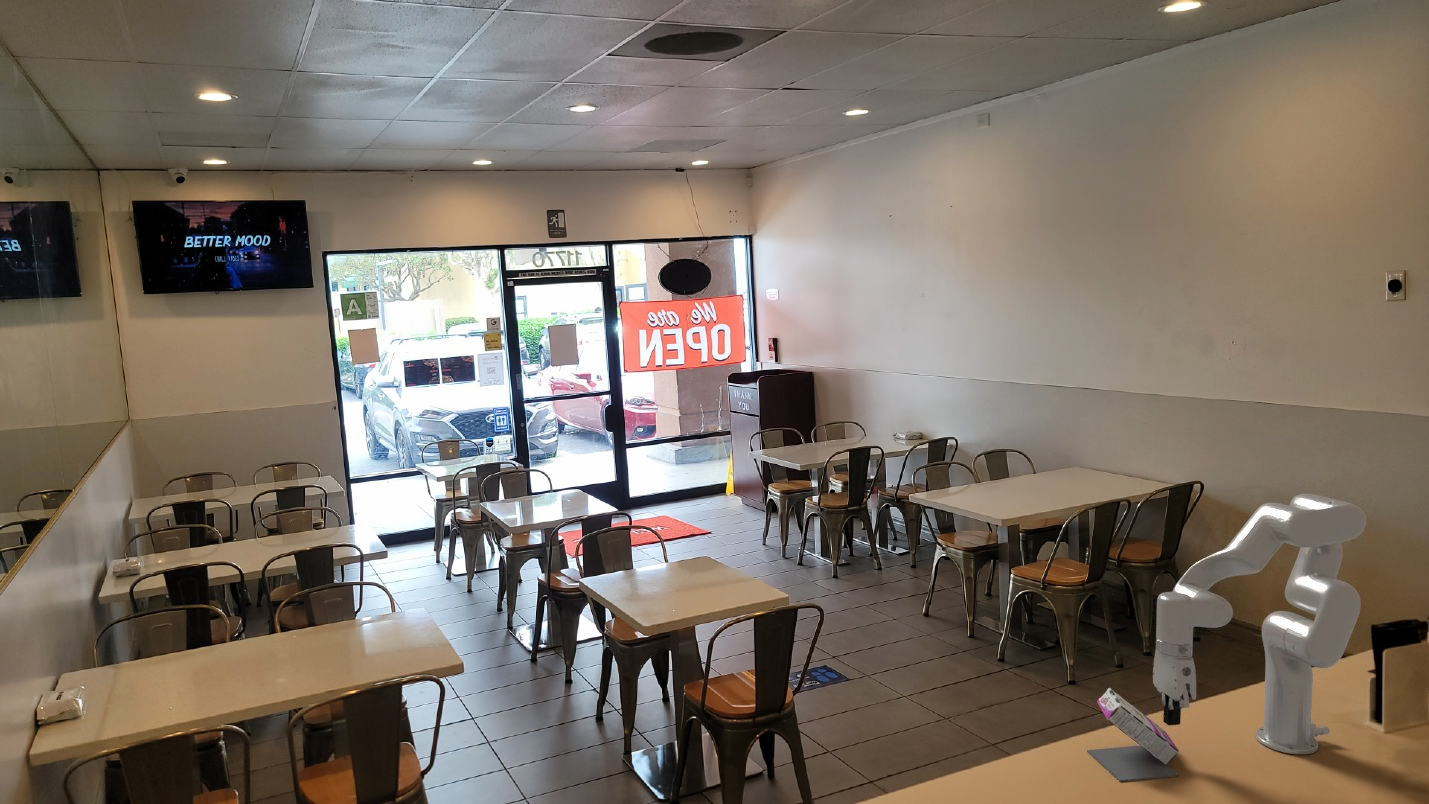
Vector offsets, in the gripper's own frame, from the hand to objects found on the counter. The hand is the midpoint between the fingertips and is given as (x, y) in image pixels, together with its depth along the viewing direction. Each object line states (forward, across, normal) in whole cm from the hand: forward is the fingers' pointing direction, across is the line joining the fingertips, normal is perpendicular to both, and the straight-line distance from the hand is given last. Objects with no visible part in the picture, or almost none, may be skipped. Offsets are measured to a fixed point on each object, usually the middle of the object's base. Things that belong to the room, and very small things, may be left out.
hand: (1171, 723), depth 211 cm
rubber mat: (+8, -1, +10) cm, 13 cm away
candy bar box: (+6, 0, +1) cm, 7 cm away
